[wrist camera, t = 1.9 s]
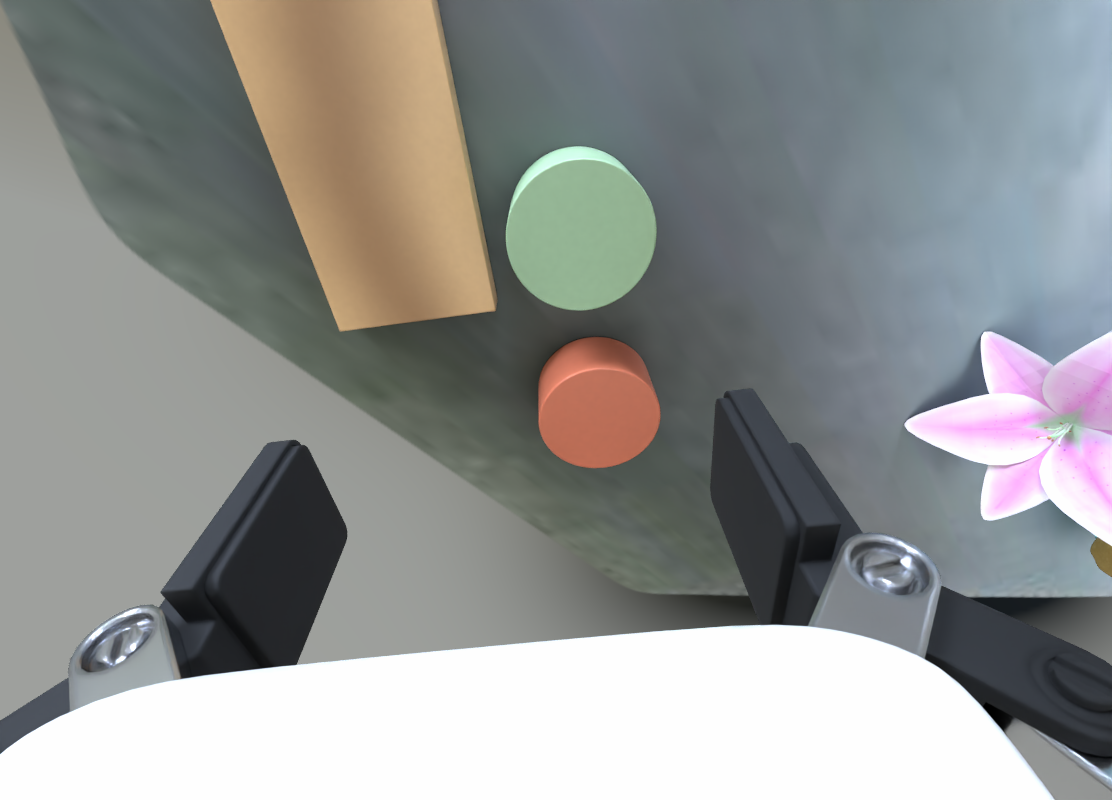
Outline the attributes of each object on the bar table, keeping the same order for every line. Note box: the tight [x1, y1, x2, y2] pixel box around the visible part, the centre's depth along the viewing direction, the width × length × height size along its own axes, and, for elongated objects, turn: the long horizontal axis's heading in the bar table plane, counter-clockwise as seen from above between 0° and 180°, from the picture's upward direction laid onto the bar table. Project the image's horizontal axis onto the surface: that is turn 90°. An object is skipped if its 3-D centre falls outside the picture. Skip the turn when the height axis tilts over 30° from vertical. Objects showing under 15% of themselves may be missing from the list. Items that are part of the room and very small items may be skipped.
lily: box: [904, 331, 1112, 546], centre depth 28 cm, size 12×12×10 cm
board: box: [210, 0, 497, 331], centre depth 21 cm, size 8×20×2 cm, turn 7°
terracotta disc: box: [539, 337, 661, 468], centre depth 29 cm, size 6×6×4 cm
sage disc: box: [506, 146, 657, 311], centre depth 23 cm, size 6×6×4 cm
